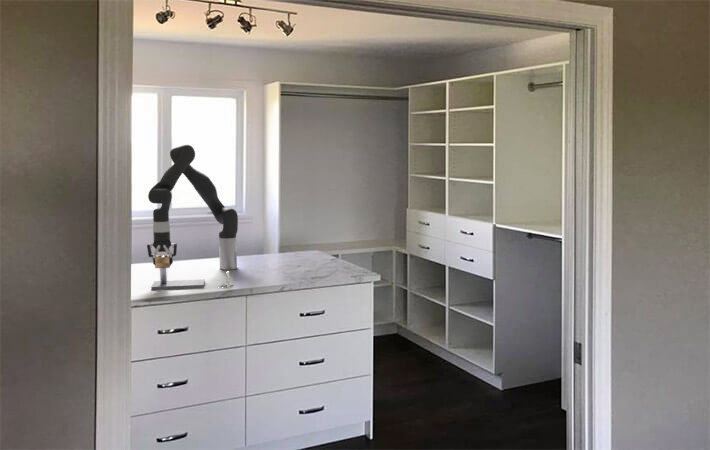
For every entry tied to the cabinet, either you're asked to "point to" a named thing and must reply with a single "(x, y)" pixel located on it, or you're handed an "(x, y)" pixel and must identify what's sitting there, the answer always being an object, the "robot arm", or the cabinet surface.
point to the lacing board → (178, 284)
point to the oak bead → (162, 261)
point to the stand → (227, 282)
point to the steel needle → (163, 275)
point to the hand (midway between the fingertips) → (163, 265)
